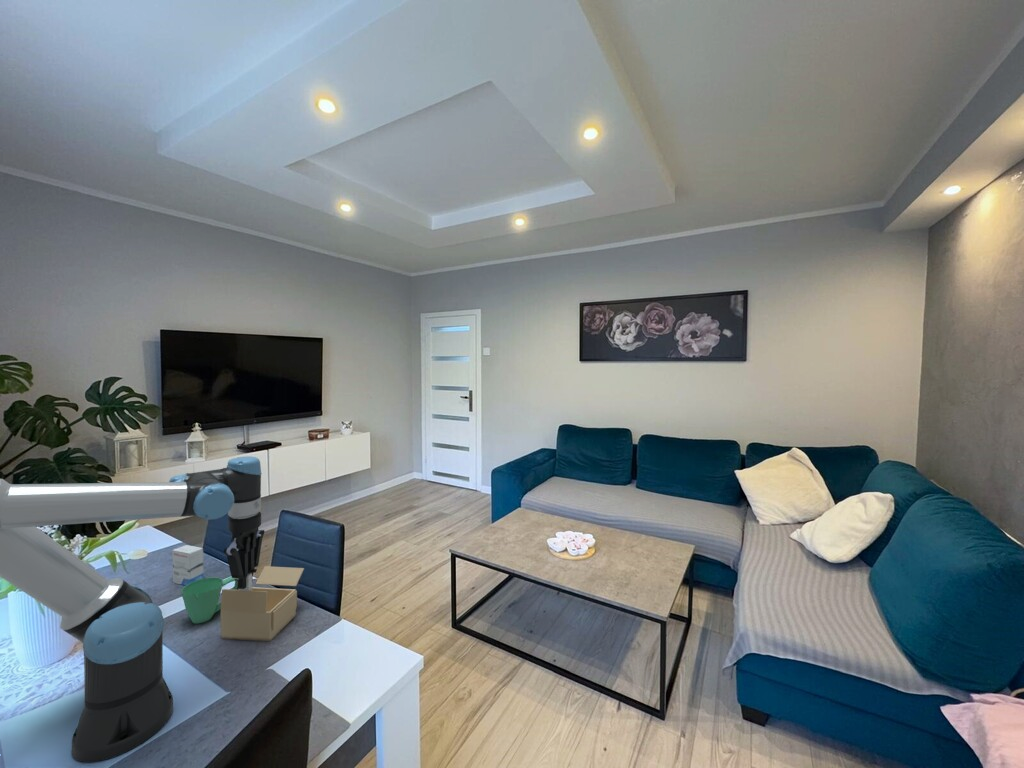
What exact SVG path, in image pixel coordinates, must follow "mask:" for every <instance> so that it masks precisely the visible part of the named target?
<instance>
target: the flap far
mask: <svg viewBox="0 0 1024 768" xmlns="http://www.w3.org/2000/svg"><path fill="white" fill-rule="evenodd" d="M304 570H305V568H304V567H287V566H286V567H285V566H269V565H264V567H263V569H262V571H261V573H260V575H259V576H258V578H257V581H255V584H256V585H266V586H267V585H268V586H283V587H297V585H298V583H299V582H300V581H299V580H300V579H301V577H302V575H303V572H304Z"/></svg>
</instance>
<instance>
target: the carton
mask: <svg viewBox="0 0 1024 768" xmlns="http://www.w3.org/2000/svg"><path fill="white" fill-rule="evenodd" d="M252 591H268V596H267V612H266V613H263V612H245V611H228V610H221V609H220V631H221V632H220V633H221V635H220V639H225V640H238V641H239V640H240V641H242V640H243V641H260V642H271V641H272V640H273V639H274V638H275V637H276V636H277V635H278V634H279V633H280V632H281V630H283V628H285V627H286V626H287V625H288V624H289V622H290V621H291V620H293V618H295V617H296V615H297V614H296V613H297V611H296V610H297V607H298V606H297V605H298V604H297V603H298V591H297V589H296V588H295V589H294V588H293V589H291V588H276V587H275V588H274V587H258V586H257V587H256V586H252Z"/></svg>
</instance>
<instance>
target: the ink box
mask: <svg viewBox="0 0 1024 768" xmlns="http://www.w3.org/2000/svg"><path fill="white" fill-rule="evenodd" d="M171 554H172V556H171V557H172V579H173V580H172V581H173V582H172V583H174V584H178V585H182V586H184V587H185V586H186V585H188V584H190V583H192V582H194V581H197V580H200V579H204V578H205V576H204V575H205V574H204V548H203V547H199V546H194V545H188V544H185V545H182V546H180V547H177V548H174V549H172V553H171Z"/></svg>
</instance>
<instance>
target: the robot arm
mask: <svg viewBox="0 0 1024 768" xmlns="http://www.w3.org/2000/svg"><path fill="white" fill-rule="evenodd" d="M261 468H262V467H261V461H260V459H259V458H258V457H256V456H247V455H246V456H239V457H236V458H235V457H233V458H231V459H229V460H228V462H227V465H226V467H223V468H218V469H210V470H203V471H197V472H190V473H189V472H186V473H183V474H179V475H174V476H172V477H171V478H170V479H169V481H167V482H165V481H163V482H161V481H160V482H157V481H156V482H101V483H99V482H98V483H97V482H95V483H94V482H93V483H91V482H90V483H87V482H86V483H85V482H84V483H79V482H78V483H22V484H21V483H20V484H17V483H15V484H12V483H10V482H8V481H7V480H5V479H3V478H0V578H2V579H3V580H5V581H6V582H7V583H9V584H11V586H14V587H15V588H17V589H18V590H20V591H21V592H22V593H25V594H26V595H28V596H29V597H31V598H32V599H34V600H35V601H37V602H39V603H40V604H42V605H43V606H45V607H46V608H47V609H49V610H51V611H52V612H54V613H56V614H58V615H59V616H60V617H61V620H60V626H59V628H60V629H61V630H62V631H64V632H65V633H66V634H69V635H70V636H72V637H73V638H75V640H78V641H79V642H81V643H82V650H83V665H84V672H83V674H84V684H83V685H84V706H83V707H84V708H83V709H82V712H81V714H80V717H79V720H78V723H77V726H76V728H75V730H74V731H73V732H74V733H73V734H72V737H71V748H70V749H71V750H70V751H71V756H72V758H74V759H75V760H76V761H79V762H81V763H83V762H84V763H92V762H93V763H94V762H100V761H101V762H102V761H103V760H104V761H105V760H108V759H112V758H115V757H117V756H119V755H122V754H125V753H126V752H128V751H132V750H133V749H134V748H137V747H138V746H140V745H141V744H143V743H144V742H146V741H147V740H149V739H150V738H152V737H153V736H154V735H156V733H158V732H159V731H160V730H161V729H162V728H163V727H164V726H165V725H166V724H167V722H168V721H169V720H170V718H171V716H172V715H173V711H174V697H173V694H172V692H171V691H170V688H169V686H168V684H167V682H166V680H165V678H164V675H163V670H164V669H163V667H164V666H163V663H164V662H163V658H164V657H163V656H164V653H163V652H164V651H163V647H164V646H163V644H164V643H163V633H164V632H163V631H164V626H165V625H164V624H165V619H164V616H163V612H162V610H161V608H160V606H158V605H156V604H155V603H153V599H152V597H151V595H150V594H149V593H148V592H147V591H146V590H145V589H143V588H141V587H139V586H137V585H133V584H130V583H128V582H127V581H125V580H124V579H123V578H121V577H115V578H111V579H109V578H106V577H105V576H103V575H102V574H100V573H99V572H98V571H96V570H95V569H94V568H93V567H91V566H90V565H89V564H87V563H86V562H84V561H83V560H81V559H80V558H79V557H77V556H76V555H75V554H73V553H72V552H71V551H69V549H66V547H64V546H63V545H62V544H60V543H58V542H57V541H56V540H54V539H53V538H52V537H51V536H49V535H48V534H46V533H45V532H44V531H43V530H41V529H40V528H39V527H47V526H48V527H49V526H61V525H64V526H65V525H79V524H91V523H105V522H109V523H110V522H120V521H123V522H124V521H134V520H135V521H137V520H149V519H151V520H153V519H166V518H181V517H183V518H185V517H186V518H187V517H198V518H201V519H204V520H207V521H208V520H218V519H220V518H222V517H224V516H225V515H228V516H229V517H228V519H227V521H228V523H227V525H228V526H227V527H228V528H227V529H228V531H229V532H230V533H231V539H230V542H231V544H230V545H229V547H225V548H224V549H223V553H224V554H225V556H226V558H227V559H226V560H227V563H228V568H229V572H230V577H232V578H238V588H239V590H241V591H249V590H252V587H253V580H254V579H253V578H254V577H253V576H254V575H253V573H257V570H258V569H257V567H258V566H259V563H260V556H261V550H262V542H263V538H264V535H265V529H259V527H261V525H262V512H261V510H262V492H261V491H262V469H261Z"/></svg>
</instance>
